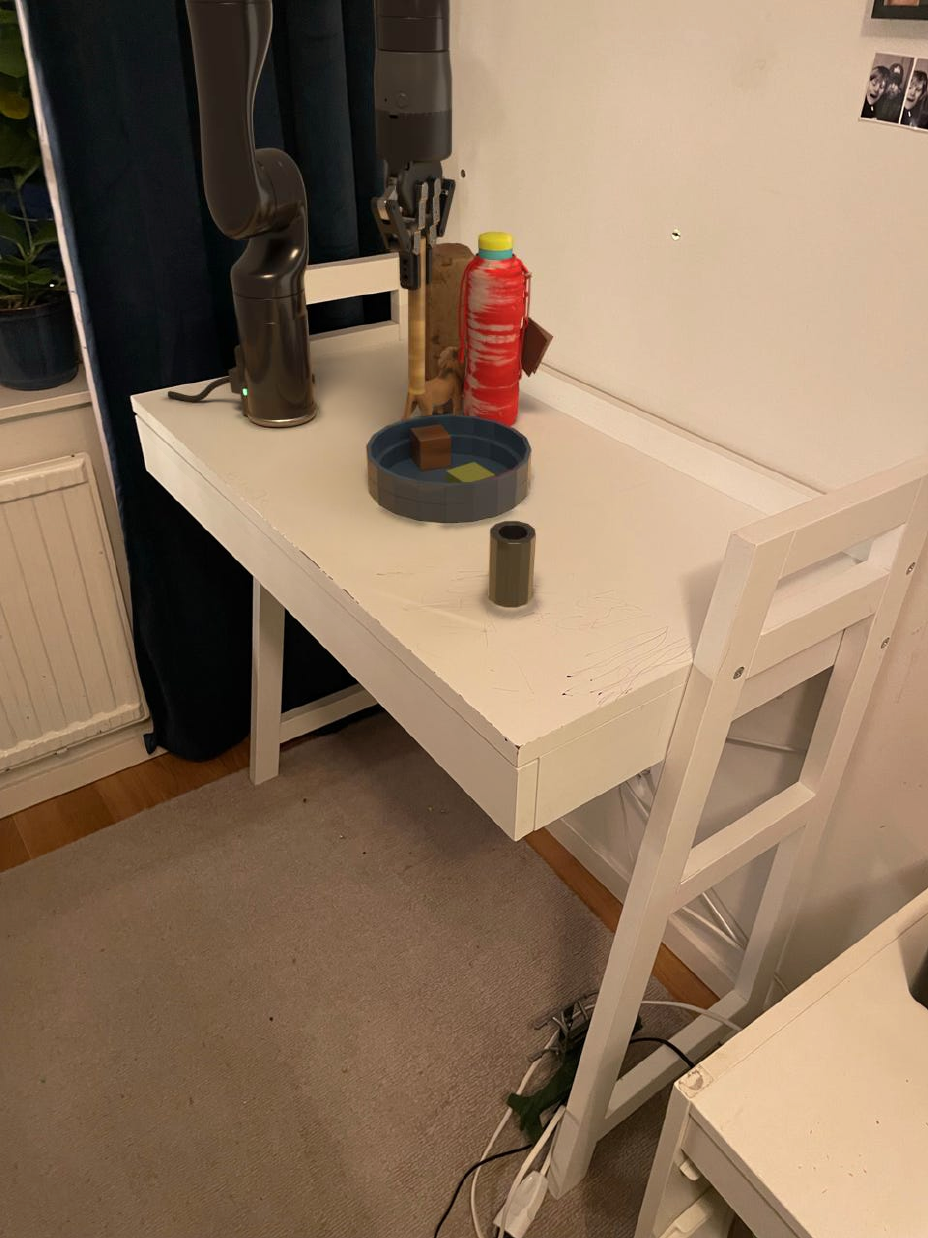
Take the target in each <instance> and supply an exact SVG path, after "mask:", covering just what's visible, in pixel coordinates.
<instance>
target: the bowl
mask: <svg viewBox="0 0 928 1238" xmlns="http://www.w3.org/2000/svg"><path fill="white" fill-rule="evenodd" d="M439 424H440V425H441V426H442V427H443V428H444V429H445V430H446V432H447V433H448V434H449V435H450V436H451V466H450V467H444V468H437V469H431V470H425V471H420V469H419V468H418V467H417V465H416V464H415V463H414V461H413V460H412V459H411V446H410V429H411V428H418V427H425V426H432V425H439ZM365 449H366V451H365V452H366V453H365V454H366V469H367V483H368V492H369V493H368V494H369V495H370V496H371V497H372V499H374V501H376V503H377V504H378V505H379V506H381V507H382V508H384V509H386V510H388V511H390V512H392V513H394V514H396V515H399V516H401V517H405V518H409V519H412V520H416V521H420V522H421V521H422V522H432V523H442V524H449V523H451V524H452V523H453V524H454V523H468V522H476V521H480V520H485V519H489V518H493V517H498V516H500V515H502V514H504V513H506V512H508V511H510V510H512V509H514V508H516V507H517V506H518V505H519V504H520V503H521V502H522V501H523V500H524V499H525V498H526V497H527V495H528V492H529V488H530V485H531V470H532V469H531V467H532V450H533V449H532V447H531V444H530V442H529V440H528V438H527V436H525V435H524V434H522V433H521V432H520V431H519V430H517V429H516V428H515V427H513V426H508V425H506V424H503V423H501V422H498V421H495V420H491V419H486V418H482V417H478V416H469V415H465V414H460V415H457V414H453V413H442V414H432V415H425V416H423V415H420V416H415V417H410V418H409V419H404V420H401V419H400V420H399V421H396V422H393V423H391V424H387V425H386V426H384V427H383V428H381V429H380V430H378V431H377V432H375V433H374V434H372V436H371V437H370V439H369V441H368V442H367V444H366V446H365ZM472 462H475V463H477V464H478V465H480V466H482V467H483V468H485V469H487V470H488V471H490V472H491V473H493V474H495V477H491V478H487V479H482V480H477V481H473V482H459V483H446V471H447V470H450V469H453V468H456V467H460V466H463V465H466V464H469V463H472Z"/></svg>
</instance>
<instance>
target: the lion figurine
mask: <svg viewBox="0 0 928 1238" xmlns="http://www.w3.org/2000/svg"><path fill="white" fill-rule="evenodd" d="M458 351H459V348H458V347H447V348H446V350H445V351H443V352H442V353H441V354H440V359H439V360H438V365H439V371H438V376H437V377H436V378H434V379H433V380H430V381H425V392H424V393H423V394H419V395H415V394H411V393H409V391H408V390H407V395H406V403H405V408H404V412H403V415H402V417H401V418H400V421H401V420H404V419H409V418H411V416H412V414H413V413H414V411H415V410H416V408H417V406H418V408H419V410H420V412H421V415H422V416H425V415H433V412H434V407H436V411H435V412H436V414H437V415H441V414H445V407H444V404H446V403H448V401H450V400H451V401H452V406H453V407H452V408H453V409H452V414H457V415H461V413H460V410H461V405H462V397H461V393H462V392H463V391H464V379H465V367H466V356H465V355H464V353H463V356H464V363H461V361H458Z"/></svg>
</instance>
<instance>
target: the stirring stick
mask: <svg viewBox="0 0 928 1238" xmlns="http://www.w3.org/2000/svg"><path fill="white" fill-rule="evenodd" d="M409 238H410V240H411V235H409ZM419 253H420V254H421V287H420V289H418V290H416V291H413V290H407V344H408V345H407V348H408V349H407V354H408V355H407V364H408V365H407V369H408V371H407V374H408V375H407V379H408V380H407V381H408V382H407V383H408V384H407V385H408V387H407V388H408V389H407V392H408V391H409V393H411V394H415V395H419V394H423V393H424V392H425V292H426V237H425V236H422V235H421V239H420V252H419Z"/></svg>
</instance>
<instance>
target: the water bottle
mask: <svg viewBox="0 0 928 1238" xmlns="http://www.w3.org/2000/svg"><path fill="white" fill-rule="evenodd" d="M514 241H515V240H514V236H513V235H512V234H510V233H508V232H503V231H486V232H484V233H480V234H479V235H478V238H477V247H478V249H477V250H478V252H476V253H474V255H475V256H474V259H473V260H472V261H471V262H470V263H468V265H467V266H466V268H465V270H464V272H463V276H462V280H461V285H460V297H459V309H458V320H459V337H460V340H461V345H460V347H459V351H458V361H461V363H464V356H463V351H464V347H465V346H466V367H465V379H464V391H463V397H462V399H463V413H464V414H463V415H469V416H478V417H482V418H486V419H491V420H495V421H498V422H501V423H503V424H506V425H508V426H510V427H512V426H513V425H514V423H515V421H516V418H517V416H518V413H519V403H520V402H519V401H520V381H521V380H522V379H523V372H524V374H525V375H526V376H527V377H528V378H531V375H532V374H534V375H535V374H536V373H537V371H538V368H539V367H540V365H541V363H542V361H543V358H544V356H545V354H546V352H547V350H548V348H549V347H550V345H551V342H552V341H553V338H554V335H553V334H551V333H550V332H549V331H548V330H546V329H545V328H544V327H542V326H541V325H540V324H539V323H538V322H536V321H535V320H534V319H532V317H530V308H531V289H532V288H531V287H532V280H531V279H532V277H533V276H532V275H533V272H531V271H529V270H528V268H527V267H526V265H524V263H523V261H522V259H520V258H518V257H517V255H516V254H515V253H514V252H513V250H514V249H513V248H514ZM466 272H467V273H466ZM465 274H466V281H465V294H464V313H463V330H462V336H461V302H462V290H463V282H464V278H465ZM465 325H466V344H465V343H464V335H465Z"/></svg>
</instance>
